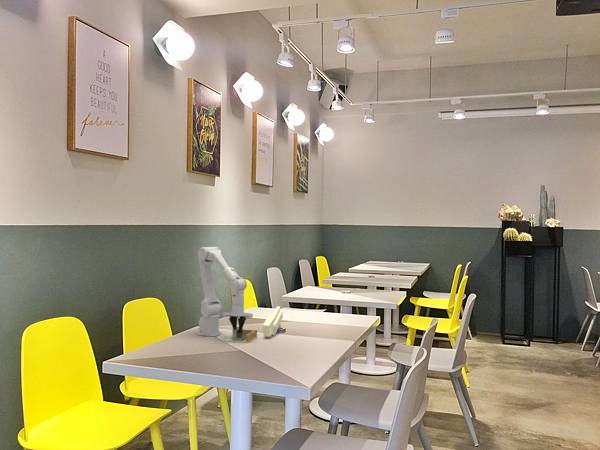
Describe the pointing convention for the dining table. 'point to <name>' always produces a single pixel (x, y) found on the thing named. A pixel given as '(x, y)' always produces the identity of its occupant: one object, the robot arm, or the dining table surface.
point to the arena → (249, 336)
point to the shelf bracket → (272, 322)
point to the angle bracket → (238, 335)
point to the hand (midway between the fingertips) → (237, 332)
